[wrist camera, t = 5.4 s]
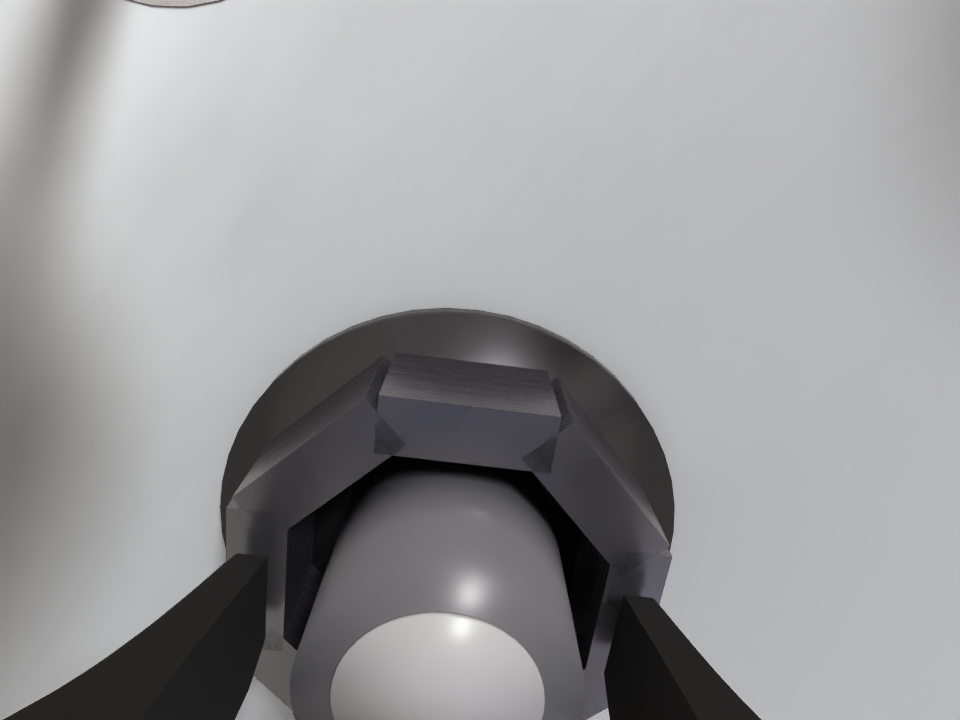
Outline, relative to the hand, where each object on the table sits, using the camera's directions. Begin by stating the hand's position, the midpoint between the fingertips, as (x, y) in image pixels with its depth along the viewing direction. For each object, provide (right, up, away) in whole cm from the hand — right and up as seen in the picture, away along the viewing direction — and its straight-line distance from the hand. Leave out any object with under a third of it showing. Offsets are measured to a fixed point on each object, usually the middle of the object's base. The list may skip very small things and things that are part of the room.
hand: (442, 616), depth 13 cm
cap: (0, +1, +3) cm, 3 cm away
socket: (0, +1, +3) cm, 3 cm away
